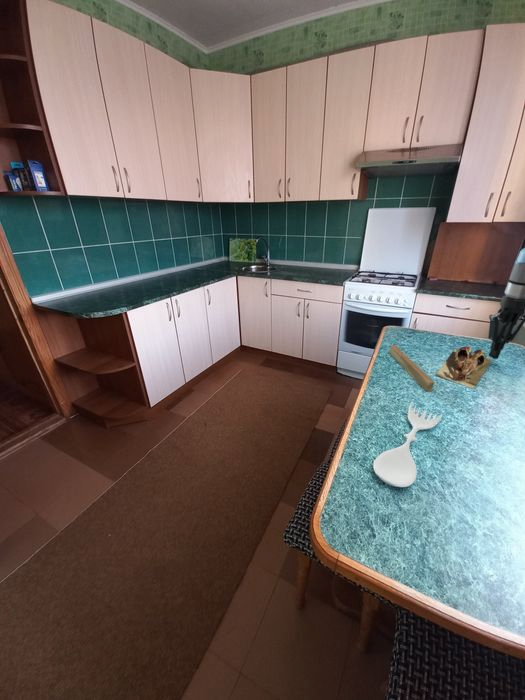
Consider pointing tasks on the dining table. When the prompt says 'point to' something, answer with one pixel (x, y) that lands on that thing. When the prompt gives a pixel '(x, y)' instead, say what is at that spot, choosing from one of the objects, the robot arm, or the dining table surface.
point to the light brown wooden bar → (412, 368)
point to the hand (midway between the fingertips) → (493, 357)
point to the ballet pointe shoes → (465, 366)
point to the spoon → (403, 453)
